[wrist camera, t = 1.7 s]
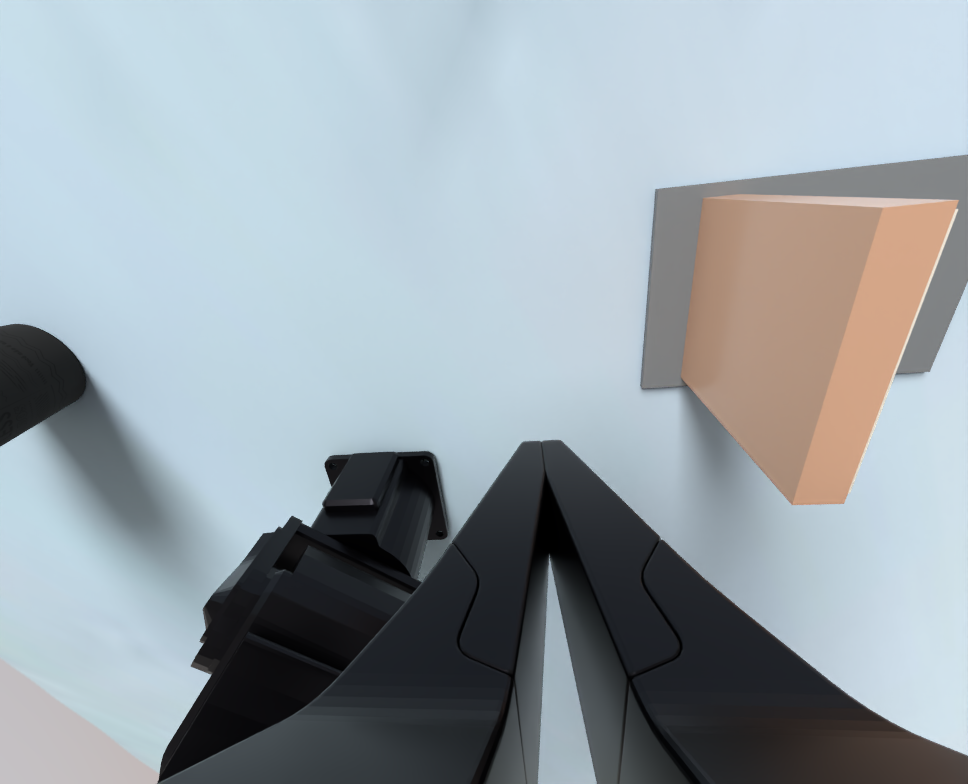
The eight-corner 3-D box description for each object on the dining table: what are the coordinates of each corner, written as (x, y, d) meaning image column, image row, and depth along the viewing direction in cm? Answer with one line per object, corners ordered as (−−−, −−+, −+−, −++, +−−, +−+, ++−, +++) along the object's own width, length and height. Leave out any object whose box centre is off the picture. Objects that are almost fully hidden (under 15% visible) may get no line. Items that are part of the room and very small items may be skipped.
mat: (923, 369, 19) (929, 371, 19) (640, 386, 21) (642, 388, 20) (1014, 149, 15) (1023, 149, 15) (655, 189, 17) (657, 189, 16)
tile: (715, 374, 20) (853, 503, 12) (680, 377, 20) (792, 505, 12) (746, 193, 16) (972, 198, 8) (702, 198, 16) (883, 207, 8)
